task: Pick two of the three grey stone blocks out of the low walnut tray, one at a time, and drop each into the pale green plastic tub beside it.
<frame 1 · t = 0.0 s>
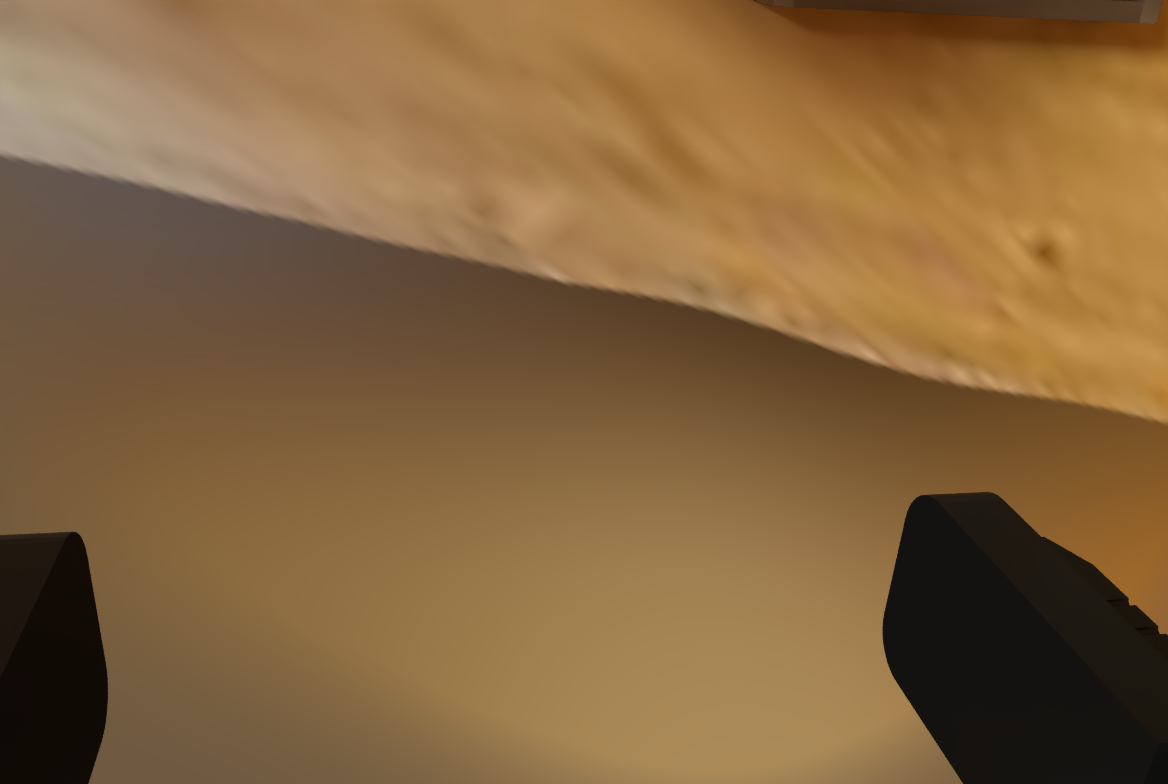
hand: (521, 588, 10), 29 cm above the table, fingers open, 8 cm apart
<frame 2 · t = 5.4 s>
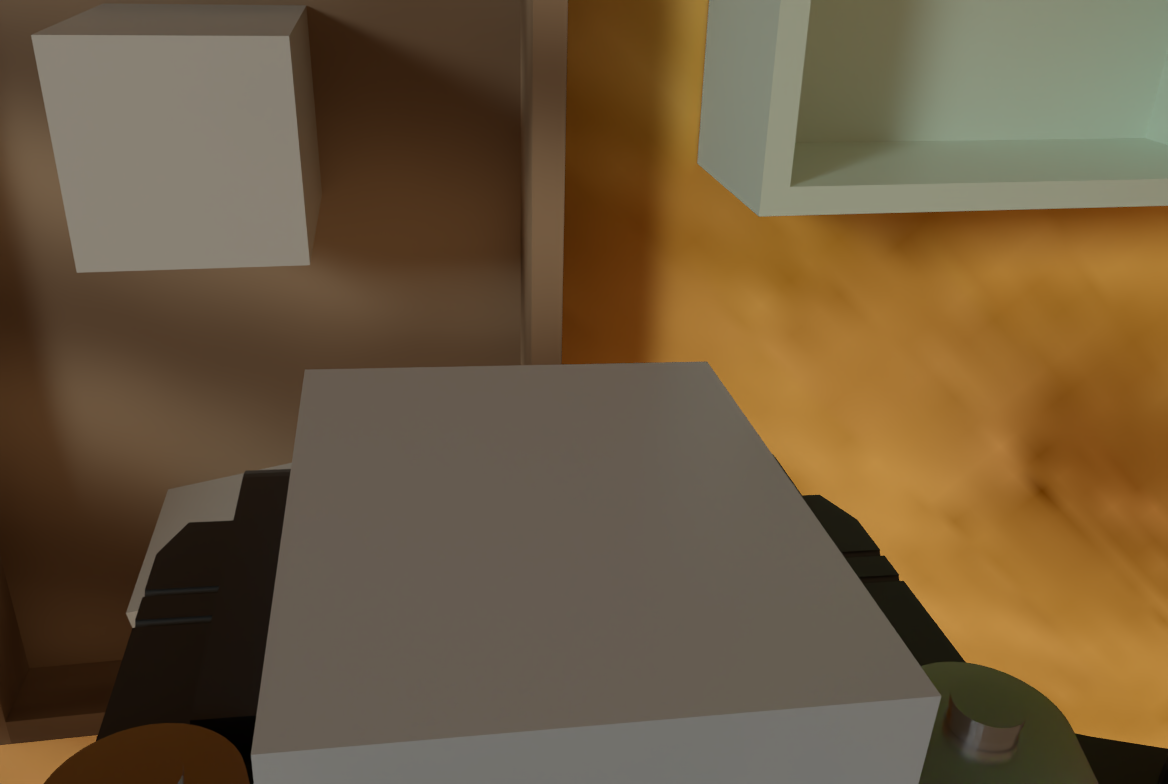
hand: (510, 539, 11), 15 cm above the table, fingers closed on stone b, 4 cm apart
stone c: (271, 537, 27), point 1 cm above the table, touching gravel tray
stone b: (507, 536, 11), point 15 cm above the table, touching gripper
stone a: (218, 103, 22), point 1 cm above the table, touching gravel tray
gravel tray: (250, 331, 25), on the table
when the fingers open (6 cm above the table, at t = 7.7 s): stone b drops 5 cm, resting on dump tub.
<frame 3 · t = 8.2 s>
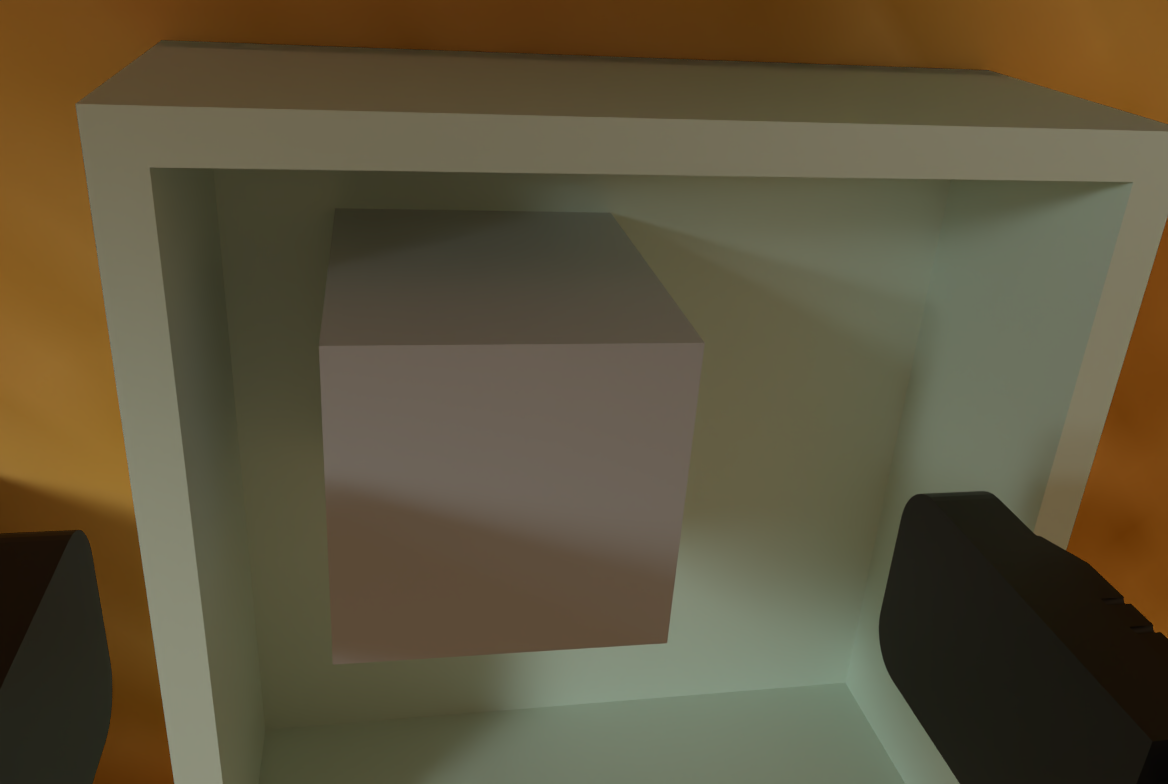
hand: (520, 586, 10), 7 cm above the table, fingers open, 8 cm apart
stone b: (473, 337, 16), point 1 cm above the table, touching dump tub
dump tub: (581, 429, 18), on the table
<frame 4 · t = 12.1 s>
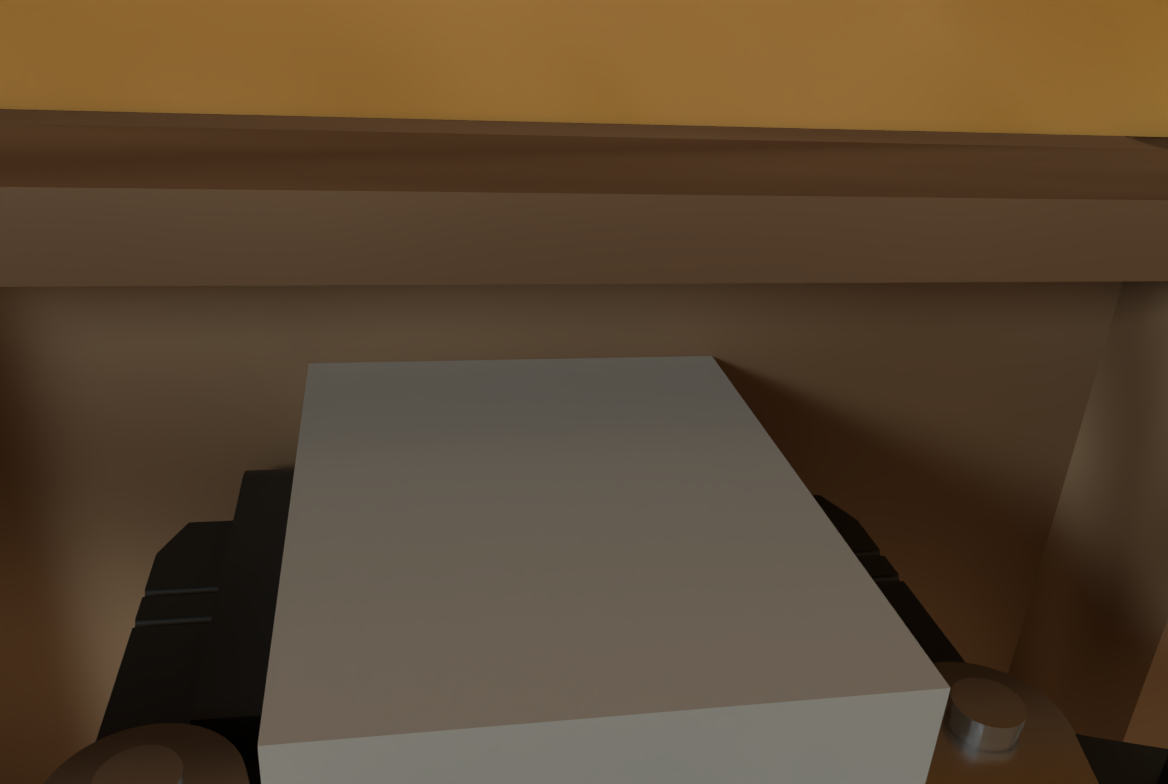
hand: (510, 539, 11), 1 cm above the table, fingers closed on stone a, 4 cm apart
stone a: (511, 530, 11), point 1 cm above the table, touching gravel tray, gripper
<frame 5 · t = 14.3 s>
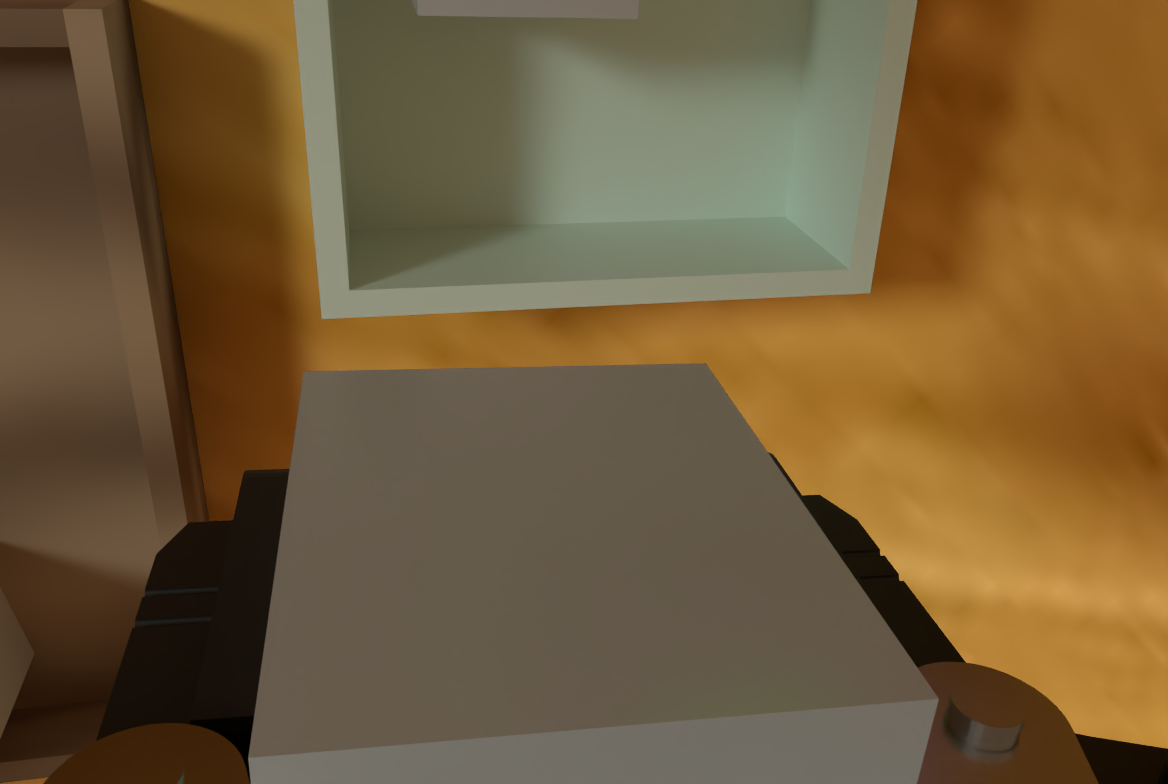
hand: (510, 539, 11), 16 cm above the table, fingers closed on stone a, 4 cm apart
stone a: (506, 537, 11), point 16 cm above the table, touching gripper
when the fingers open (7 cm above the table, at t = 16.3 s): stone a drops 6 cm, resting on dump tub.
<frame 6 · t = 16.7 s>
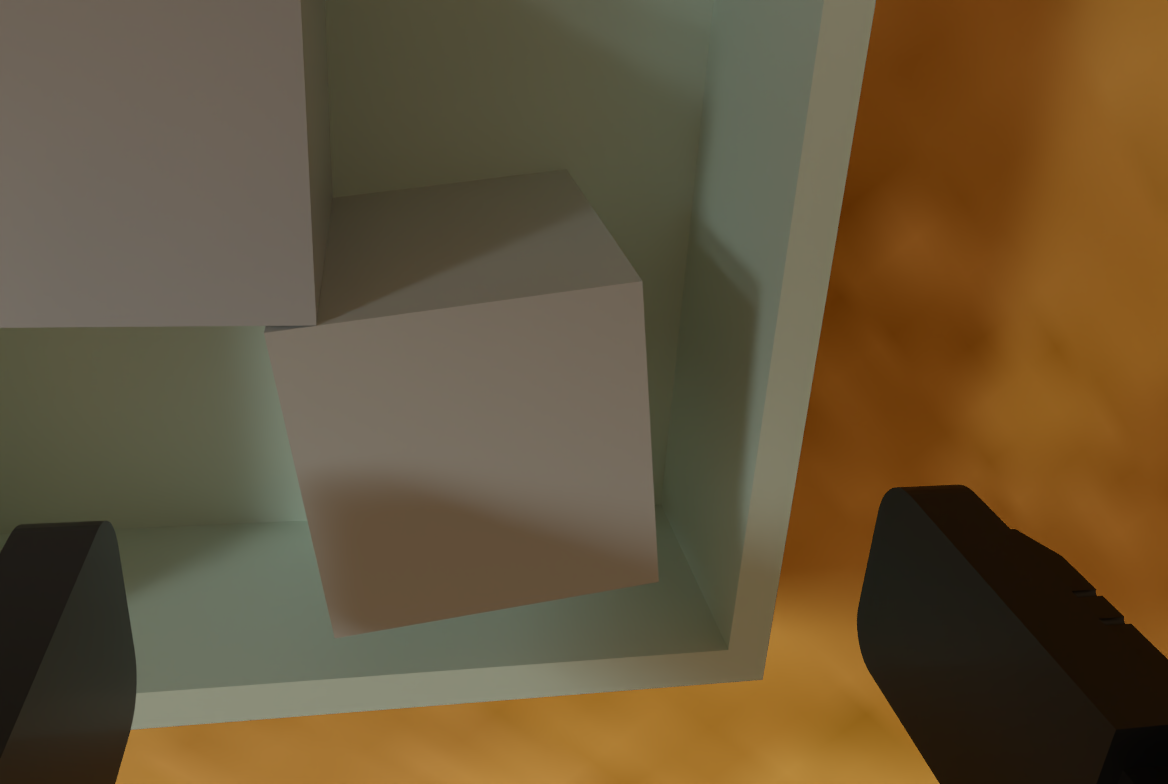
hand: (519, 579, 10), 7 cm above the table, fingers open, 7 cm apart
stone b: (173, 48, 14), point 1 cm above the table, touching dump tub
stone a: (451, 310, 16), point 1 cm above the table, touching dump tub
dump tub: (330, 186, 16), on the table
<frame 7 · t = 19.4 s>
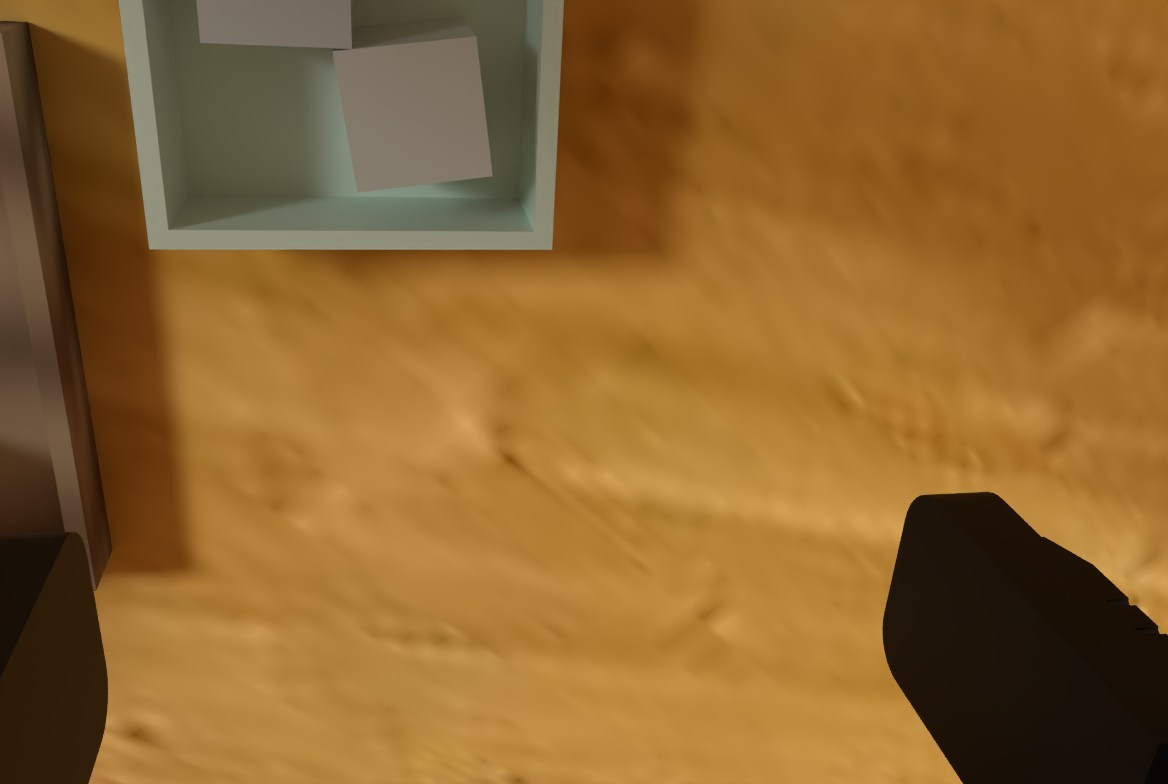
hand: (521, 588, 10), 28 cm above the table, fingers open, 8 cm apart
stone a: (410, 86, 35), point 1 cm above the table, touching dump tub
dump tub: (353, 24, 34), on the table
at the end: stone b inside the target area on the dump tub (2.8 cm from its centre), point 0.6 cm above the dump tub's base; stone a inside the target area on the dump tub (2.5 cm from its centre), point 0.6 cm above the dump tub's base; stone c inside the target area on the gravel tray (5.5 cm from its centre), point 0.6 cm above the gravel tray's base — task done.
